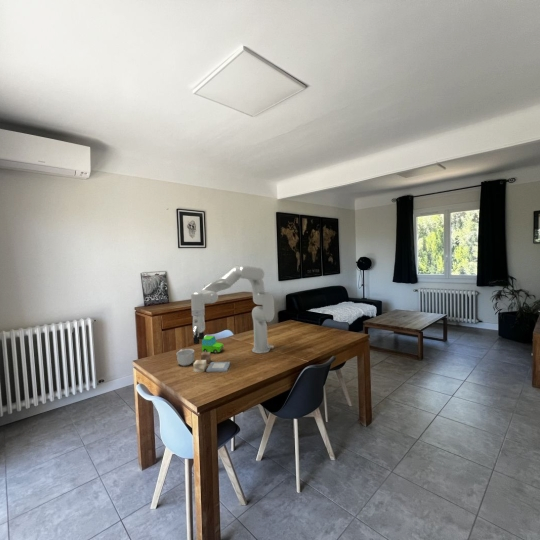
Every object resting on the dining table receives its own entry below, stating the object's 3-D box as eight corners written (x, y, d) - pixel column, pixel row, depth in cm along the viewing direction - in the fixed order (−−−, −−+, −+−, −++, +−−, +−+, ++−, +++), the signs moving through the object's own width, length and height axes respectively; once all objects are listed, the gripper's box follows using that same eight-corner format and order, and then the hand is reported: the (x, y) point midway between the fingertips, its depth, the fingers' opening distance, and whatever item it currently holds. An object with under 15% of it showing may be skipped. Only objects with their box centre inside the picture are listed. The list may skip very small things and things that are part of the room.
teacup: (196, 365, 175) (196, 352, 175) (178, 368, 170) (178, 355, 169) (191, 358, 187) (190, 346, 187) (174, 361, 182) (173, 349, 181)
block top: (210, 361, 182) (210, 351, 181) (209, 363, 177) (208, 354, 176) (203, 361, 182) (202, 351, 181) (201, 364, 177) (200, 354, 176)
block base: (206, 368, 170) (206, 359, 170) (203, 372, 164) (203, 363, 164) (196, 368, 170) (196, 360, 170) (193, 372, 164) (193, 363, 164)
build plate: (230, 363, 176) (230, 361, 176) (226, 371, 164) (226, 369, 164) (211, 364, 176) (211, 361, 176) (206, 371, 164) (206, 369, 164)
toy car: (219, 354, 194) (218, 340, 193) (201, 353, 196) (201, 339, 196) (224, 349, 204) (224, 336, 203) (207, 348, 206) (207, 335, 206)
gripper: (200, 315, 158) (201, 345, 159) (208, 310, 175) (208, 337, 176) (187, 315, 158) (187, 345, 159) (196, 310, 175) (196, 337, 176)
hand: (198, 341), depth 167 cm, fingers open, 9 cm apart
